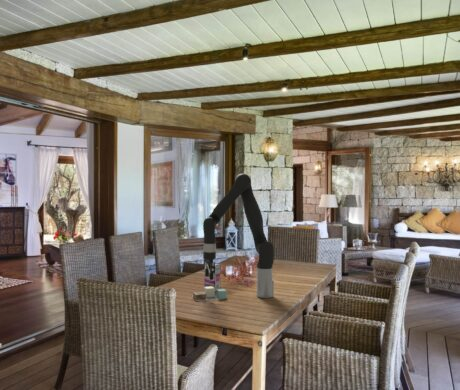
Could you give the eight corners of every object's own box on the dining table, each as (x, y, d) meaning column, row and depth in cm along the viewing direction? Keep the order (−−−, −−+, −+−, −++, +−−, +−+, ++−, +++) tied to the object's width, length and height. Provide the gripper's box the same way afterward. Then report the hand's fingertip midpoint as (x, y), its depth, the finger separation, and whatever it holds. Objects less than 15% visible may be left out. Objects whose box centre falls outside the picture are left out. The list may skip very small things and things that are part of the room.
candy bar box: (220, 290, 251) (221, 264, 251) (214, 292, 248) (214, 265, 248) (210, 287, 260) (210, 262, 259) (204, 288, 256) (204, 263, 256)
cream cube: (212, 294, 240) (212, 286, 240) (214, 296, 236) (214, 288, 236) (204, 295, 239) (204, 286, 239) (206, 297, 234) (206, 288, 234)
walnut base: (202, 296, 236) (202, 291, 236) (206, 299, 230) (206, 294, 230) (193, 297, 234) (193, 292, 234) (196, 300, 228) (196, 294, 228)
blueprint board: (218, 293, 243) (218, 293, 243) (225, 299, 231) (225, 298, 231) (190, 296, 237) (190, 295, 237) (196, 302, 225) (196, 301, 225)
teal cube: (223, 296, 237) (223, 288, 236) (226, 298, 232) (226, 290, 232) (216, 297, 235) (216, 289, 235) (219, 299, 231) (219, 291, 231)
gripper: (219, 252, 231) (219, 280, 232) (211, 248, 245) (211, 275, 245) (207, 252, 229) (206, 281, 229) (199, 249, 242) (199, 276, 242)
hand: (209, 278), depth 237 cm, fingers open, 8 cm apart
